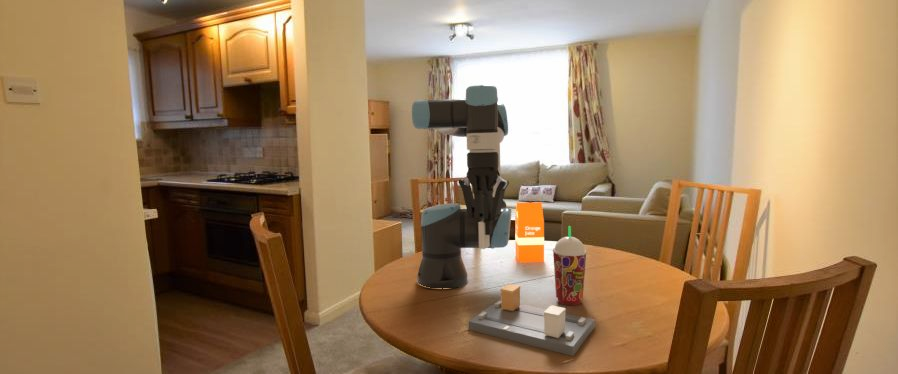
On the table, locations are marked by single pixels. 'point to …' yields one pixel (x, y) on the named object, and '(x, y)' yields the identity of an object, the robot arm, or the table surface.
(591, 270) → the table surface
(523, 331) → the fader console
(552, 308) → the cream fader
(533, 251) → the orange juice
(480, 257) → the table surface
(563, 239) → the smoothie
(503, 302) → the orange fader
